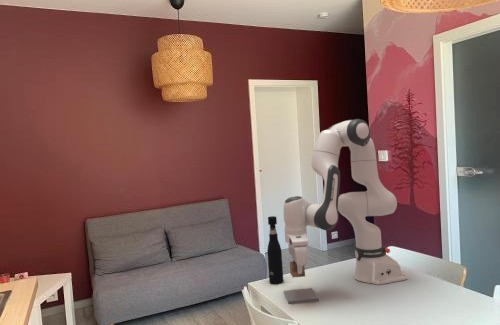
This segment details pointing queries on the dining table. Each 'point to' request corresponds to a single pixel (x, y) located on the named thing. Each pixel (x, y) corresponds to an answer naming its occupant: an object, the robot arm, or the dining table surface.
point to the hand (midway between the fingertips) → (298, 270)
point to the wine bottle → (274, 254)
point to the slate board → (300, 296)
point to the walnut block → (294, 270)
